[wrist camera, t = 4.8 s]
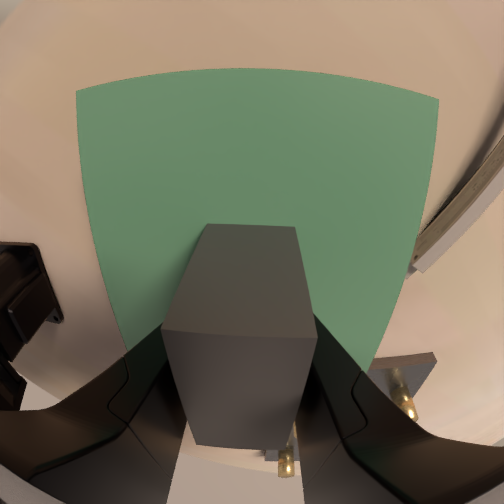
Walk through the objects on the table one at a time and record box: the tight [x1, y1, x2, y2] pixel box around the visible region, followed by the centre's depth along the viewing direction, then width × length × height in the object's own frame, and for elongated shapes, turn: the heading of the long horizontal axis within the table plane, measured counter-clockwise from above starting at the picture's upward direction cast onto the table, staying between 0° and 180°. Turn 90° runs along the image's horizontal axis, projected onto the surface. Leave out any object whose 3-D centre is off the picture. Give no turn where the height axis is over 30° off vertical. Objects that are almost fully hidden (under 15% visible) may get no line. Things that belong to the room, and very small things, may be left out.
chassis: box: [265, 352, 437, 478], centre depth 20 cm, size 12×18×4 cm, turn 179°
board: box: [76, 68, 439, 450], centre depth 8 cm, size 11×14×6 cm
